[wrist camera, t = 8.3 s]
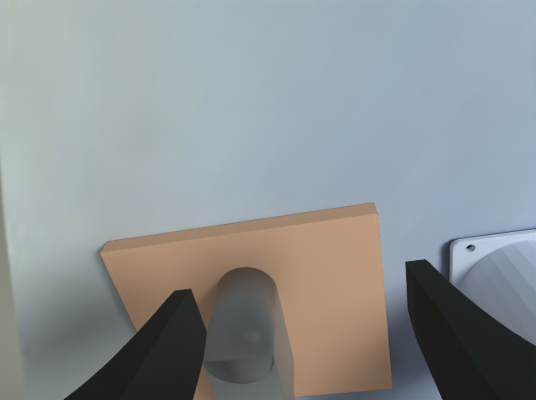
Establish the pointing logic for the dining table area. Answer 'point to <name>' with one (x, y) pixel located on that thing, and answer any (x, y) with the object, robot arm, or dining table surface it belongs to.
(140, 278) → the mat
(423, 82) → the dining table surface
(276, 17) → the dining table surface
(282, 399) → the plug
